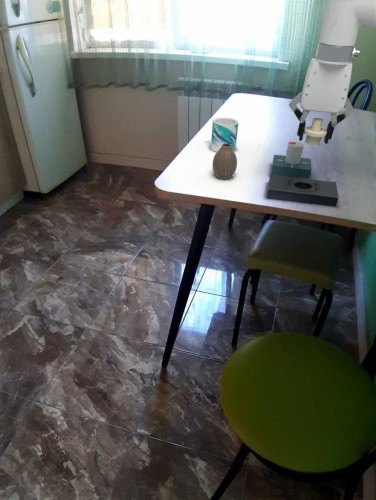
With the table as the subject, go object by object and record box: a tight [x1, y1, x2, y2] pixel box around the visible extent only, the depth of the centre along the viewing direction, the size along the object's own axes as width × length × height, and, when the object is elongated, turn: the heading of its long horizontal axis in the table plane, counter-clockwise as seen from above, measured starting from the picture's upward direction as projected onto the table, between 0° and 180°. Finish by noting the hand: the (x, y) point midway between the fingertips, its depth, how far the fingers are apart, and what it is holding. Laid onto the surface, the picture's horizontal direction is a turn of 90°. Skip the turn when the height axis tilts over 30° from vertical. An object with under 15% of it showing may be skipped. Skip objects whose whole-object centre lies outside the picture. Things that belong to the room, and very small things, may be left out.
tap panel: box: [270, 154, 313, 179], centre depth 121 cm, size 11×9×3 cm
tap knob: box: [285, 141, 305, 165], centre depth 119 cm, size 4×4×5 cm
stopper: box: [304, 117, 327, 146], centre depth 101 cm, size 6×6×5 cm
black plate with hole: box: [266, 174, 339, 207], centre depth 111 cm, size 18×10×2 cm, turn 79°
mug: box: [210, 116, 239, 153], centre depth 134 cm, size 8×12×8 cm
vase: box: [212, 143, 238, 180], centre depth 115 cm, size 7×7×9 cm
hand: (313, 139), depth 102 cm, fingers closed on stopper, 5 cm apart
